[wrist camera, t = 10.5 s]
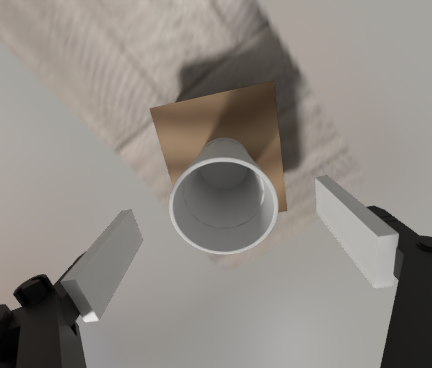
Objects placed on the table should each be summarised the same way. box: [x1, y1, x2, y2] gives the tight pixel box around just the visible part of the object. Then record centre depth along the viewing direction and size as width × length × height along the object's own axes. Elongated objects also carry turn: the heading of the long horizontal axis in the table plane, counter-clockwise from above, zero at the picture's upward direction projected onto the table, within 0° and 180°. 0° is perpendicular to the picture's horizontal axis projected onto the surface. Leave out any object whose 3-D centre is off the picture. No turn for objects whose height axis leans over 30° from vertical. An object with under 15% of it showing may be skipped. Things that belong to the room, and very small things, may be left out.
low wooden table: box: [150, 81, 287, 212], centre depth 30 cm, size 16×14×6 cm
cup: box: [169, 138, 278, 254], centre depth 22 cm, size 8×8×12 cm
